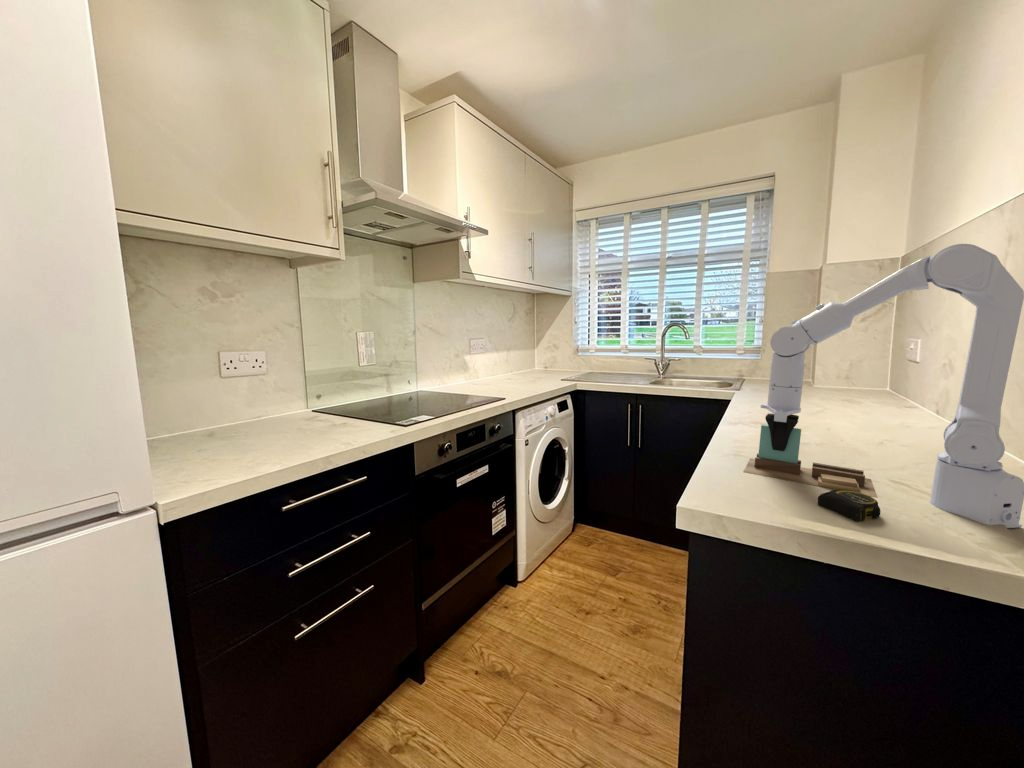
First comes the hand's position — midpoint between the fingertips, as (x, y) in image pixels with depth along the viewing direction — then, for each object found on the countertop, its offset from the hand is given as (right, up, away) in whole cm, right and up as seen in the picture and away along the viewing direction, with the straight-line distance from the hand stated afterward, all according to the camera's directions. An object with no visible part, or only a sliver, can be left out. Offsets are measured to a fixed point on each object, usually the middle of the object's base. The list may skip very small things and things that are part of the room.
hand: (778, 449), depth 87 cm
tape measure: (-1, -9, -20) cm, 21 cm away
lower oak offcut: (+5, -6, -9) cm, 12 cm away
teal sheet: (0, -4, +1) cm, 4 cm away
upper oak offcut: (+5, -5, -9) cm, 12 cm away
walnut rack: (+3, -6, -3) cm, 7 cm away
